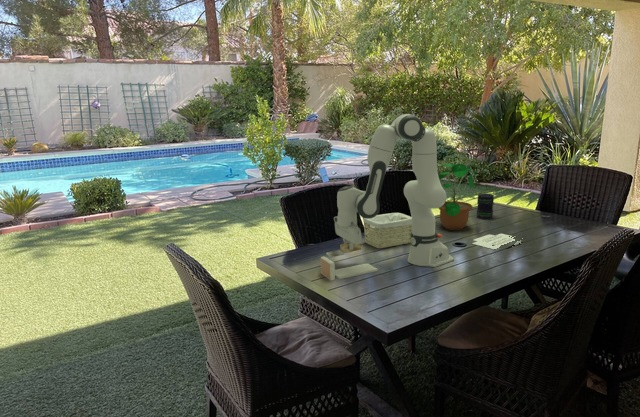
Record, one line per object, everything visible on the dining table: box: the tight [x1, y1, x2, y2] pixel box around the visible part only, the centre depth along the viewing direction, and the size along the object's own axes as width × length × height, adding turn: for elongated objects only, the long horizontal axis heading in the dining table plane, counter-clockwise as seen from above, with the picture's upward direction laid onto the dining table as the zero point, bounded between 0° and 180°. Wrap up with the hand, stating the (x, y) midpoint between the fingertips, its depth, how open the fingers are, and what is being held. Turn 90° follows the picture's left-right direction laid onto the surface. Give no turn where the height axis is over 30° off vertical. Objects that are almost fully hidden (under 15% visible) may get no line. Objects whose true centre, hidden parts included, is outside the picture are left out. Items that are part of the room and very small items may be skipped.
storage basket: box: [362, 212, 412, 249], centre depth 256 cm, size 24×16×15 cm
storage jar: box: [476, 193, 495, 221], centre depth 302 cm, size 10×10×15 cm
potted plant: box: [438, 163, 476, 231], centre depth 279 cm, size 31×29×40 cm
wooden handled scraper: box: [325, 242, 362, 258], centre depth 224 cm, size 17×5×4 cm, turn 115°
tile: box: [320, 255, 336, 281], centre depth 212 cm, size 2×10×8 cm, turn 25°
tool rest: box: [335, 262, 379, 280], centre depth 217 cm, size 20×9×1 cm, turn 116°
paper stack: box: [471, 233, 522, 250], centre depth 255 cm, size 20×28×4 cm
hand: (349, 248), depth 225 cm, fingers closed on wooden handled scraper, 2 cm apart
